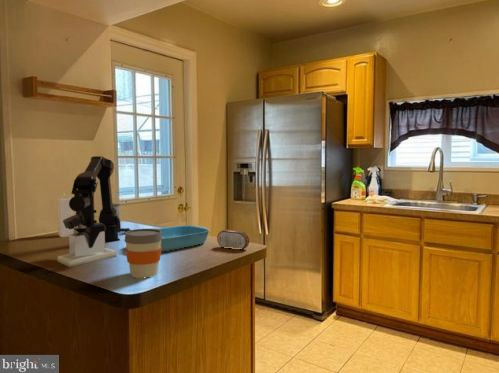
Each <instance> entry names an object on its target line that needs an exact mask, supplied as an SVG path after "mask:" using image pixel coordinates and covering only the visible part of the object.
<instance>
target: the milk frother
mask: <svg viewBox="0 0 499 373" xmlns="http://www.w3.org/2000/svg"><path fill="white" fill-rule="evenodd" d="M112 204H113V208H114V209H115V210H116V211H117V216H118V217H119V219H120V220H121V205H122V204H121V203H112ZM101 211H102V209H100V212H99V214H100V213H101ZM130 230H131V228H129V227H125V228H122V227H120V228H118V233H121V232H122V233H123V232H124V233H126V232H127V231H130Z"/></svg>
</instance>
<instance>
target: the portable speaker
mask: <svg viewBox="0 0 499 373" xmlns="http://www.w3.org/2000/svg"><path fill="white" fill-rule="evenodd" d="M217 243H218V245H219V246H220V247H221V246H222V247H233V248H242V249H243V250H245V249H246V248H248V247H249V244H250V238H249V235H248V234H247V233H246V232H244V231H242V230H235V229H227V228H226V229H222V230H221V231H220V232H219V233H218V234H217ZM222 247H221V248H222Z"/></svg>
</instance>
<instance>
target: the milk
mask: <svg viewBox="0 0 499 373" xmlns="http://www.w3.org/2000/svg"><path fill="white" fill-rule="evenodd" d="M71 198H72V197H69V196H67V193H66V192H63V193H62V195H61V196H59V197H57V198H56V204H57V205H56V206H57V233H58V234H57V235H58V236H59V238H69V234H74V229H68V228H66V227H65V225H64V223H63V220H65V219H67V218H69V217H71V216H74V215H73V214H74V211H73V210H72V209H71V208H70V207H69V201H70V199H71Z"/></svg>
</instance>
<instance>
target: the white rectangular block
mask: <svg viewBox="0 0 499 373" xmlns="http://www.w3.org/2000/svg"><path fill="white" fill-rule="evenodd" d="M68 241H69V242H68V245H69V246H68V247H69V250H68V251H69V254H70V255H72V256H74V257H78V256H83V255H88V254H93V253H98V252H103V251H105V248H106V241H105V232H104V231H101V232H100V233H99V235H98V237H97V239H96V241H95V243H94V245H93V247H92V248H89V244H88V238H87V235H86V234H85V233H84V232H82V233H78V232H75V233H73V234H69V237H68Z"/></svg>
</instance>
